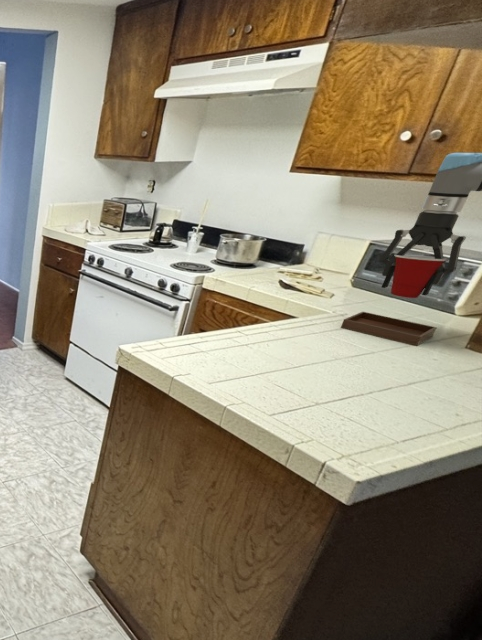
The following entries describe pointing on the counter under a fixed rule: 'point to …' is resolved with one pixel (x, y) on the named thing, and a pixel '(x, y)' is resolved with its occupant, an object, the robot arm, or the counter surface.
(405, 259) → the plastic cup
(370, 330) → the tray
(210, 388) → the counter surface
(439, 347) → the counter surface
